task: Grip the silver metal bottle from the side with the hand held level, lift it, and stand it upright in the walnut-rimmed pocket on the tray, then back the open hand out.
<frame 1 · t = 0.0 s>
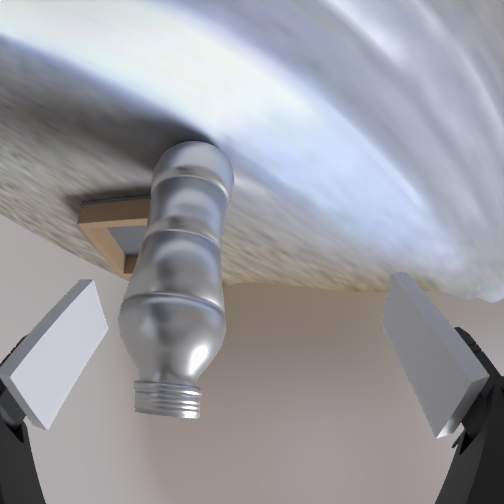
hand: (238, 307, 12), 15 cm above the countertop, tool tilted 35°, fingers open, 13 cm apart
tray: (146, 230, 34), on the countertop
silver metal bottle: (196, 158, 25), on the countertop
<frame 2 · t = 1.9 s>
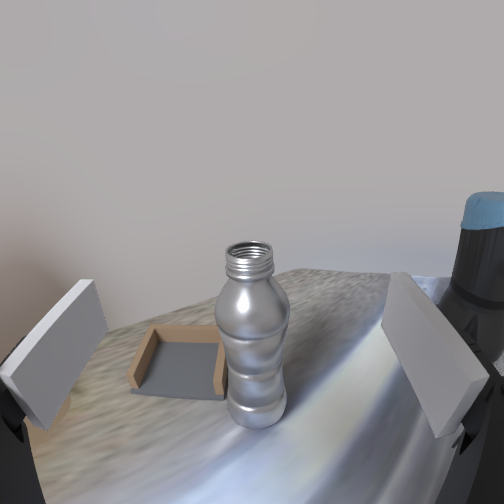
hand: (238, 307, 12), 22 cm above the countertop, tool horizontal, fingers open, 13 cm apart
tray: (184, 365, 38), on the countertop
silver metal bottle: (257, 414, 31), on the countertop
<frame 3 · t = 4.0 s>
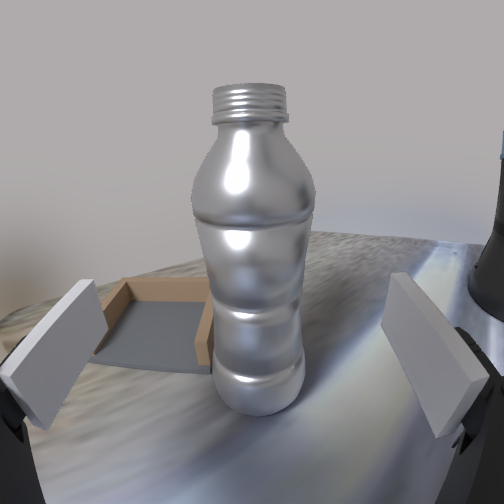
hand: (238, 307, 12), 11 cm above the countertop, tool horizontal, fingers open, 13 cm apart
tray: (160, 328, 29), on the countertop
silver metal bottle: (259, 394, 21), on the countertop
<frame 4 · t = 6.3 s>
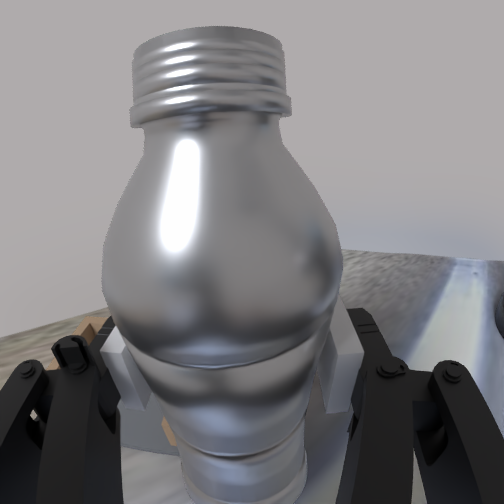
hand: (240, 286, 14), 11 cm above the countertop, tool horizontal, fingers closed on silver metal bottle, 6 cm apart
tray: (128, 385, 21), on the countertop
silver metal bottle: (248, 487, 14), on the countertop, touching gripper
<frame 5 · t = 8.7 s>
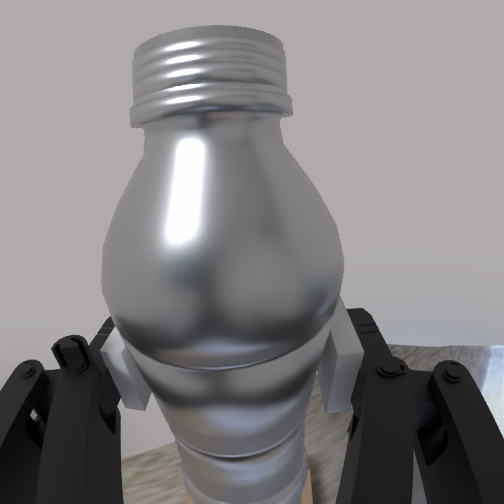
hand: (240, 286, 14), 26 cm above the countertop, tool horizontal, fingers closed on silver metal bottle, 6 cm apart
silver metal bottle: (248, 487, 13), point 15 cm above the countertop, touching gripper
when the fingers open (13 cm above the countertop, at t = 11.6 s): silver metal bottle drops 1 cm, resting on tray.
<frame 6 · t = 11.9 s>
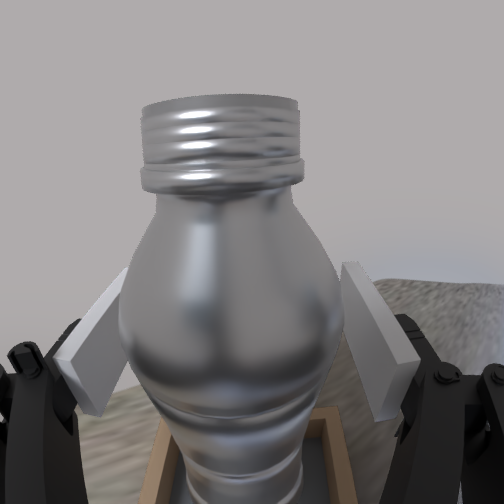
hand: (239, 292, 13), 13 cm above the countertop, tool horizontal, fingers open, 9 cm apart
tray: (249, 495, 14), on the countertop
silver metal bottle: (247, 494, 14), resting on tray
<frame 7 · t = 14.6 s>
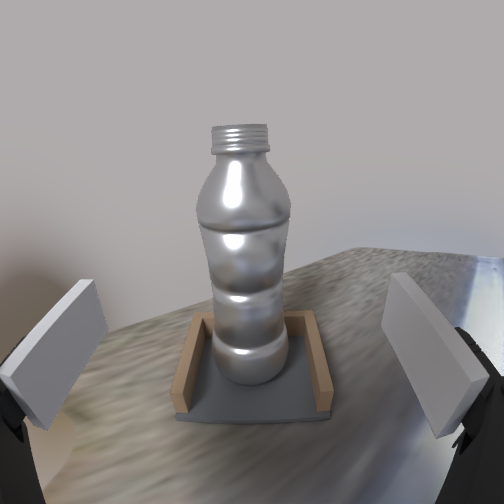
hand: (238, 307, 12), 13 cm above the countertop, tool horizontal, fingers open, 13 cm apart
tray: (253, 371, 26), on the countertop
silver metal bottle: (251, 369, 26), resting on tray
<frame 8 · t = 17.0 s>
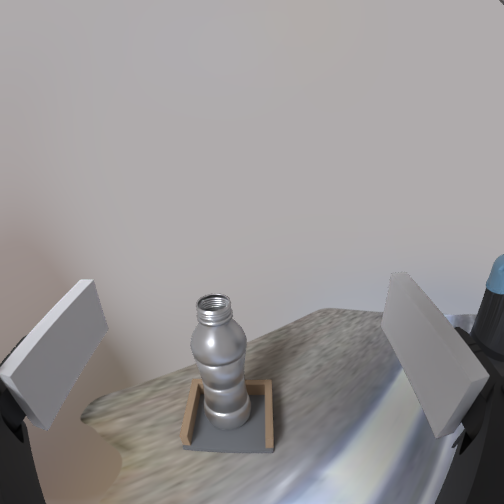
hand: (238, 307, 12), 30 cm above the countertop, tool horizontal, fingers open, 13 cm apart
tray: (230, 419, 38), on the countertop
silver metal bottle: (229, 418, 38), resting on tray
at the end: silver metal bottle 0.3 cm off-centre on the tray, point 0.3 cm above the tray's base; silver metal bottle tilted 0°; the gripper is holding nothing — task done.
